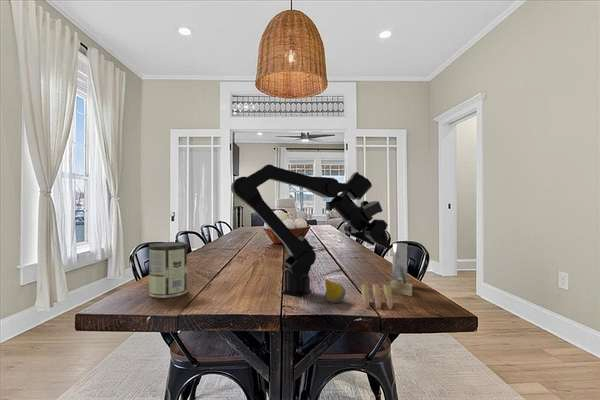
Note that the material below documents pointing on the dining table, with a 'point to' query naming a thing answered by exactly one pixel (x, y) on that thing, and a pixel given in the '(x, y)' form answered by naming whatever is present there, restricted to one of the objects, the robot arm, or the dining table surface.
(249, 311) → the dining table surface
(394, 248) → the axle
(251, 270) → the dining table surface
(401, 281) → the v block
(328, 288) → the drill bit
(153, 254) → the coffee can
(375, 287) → the ammunition
